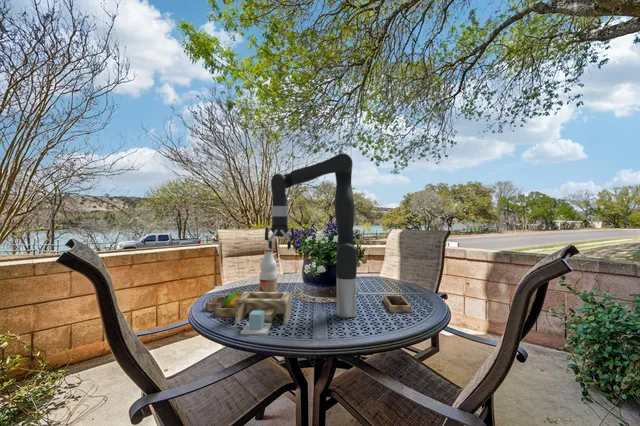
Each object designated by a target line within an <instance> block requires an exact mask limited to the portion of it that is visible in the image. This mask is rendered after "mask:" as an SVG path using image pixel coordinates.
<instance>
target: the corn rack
mask: <svg viewBox="0 0 640 426" xmlns="http://www.w3.org/2000/svg"><path fill="white" fill-rule="evenodd" d="M225 297H226V296H224V295H223V296H215V297H214V298H213V299H211V300H209V301H208V302H207V303H205V311H206V312H214V317H217V318H218V317H223V318H229V317H230V318H231V317H232V318H235V308H225V307H224V304H223V301H224V298H225ZM225 301H226V300H225Z"/></svg>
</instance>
